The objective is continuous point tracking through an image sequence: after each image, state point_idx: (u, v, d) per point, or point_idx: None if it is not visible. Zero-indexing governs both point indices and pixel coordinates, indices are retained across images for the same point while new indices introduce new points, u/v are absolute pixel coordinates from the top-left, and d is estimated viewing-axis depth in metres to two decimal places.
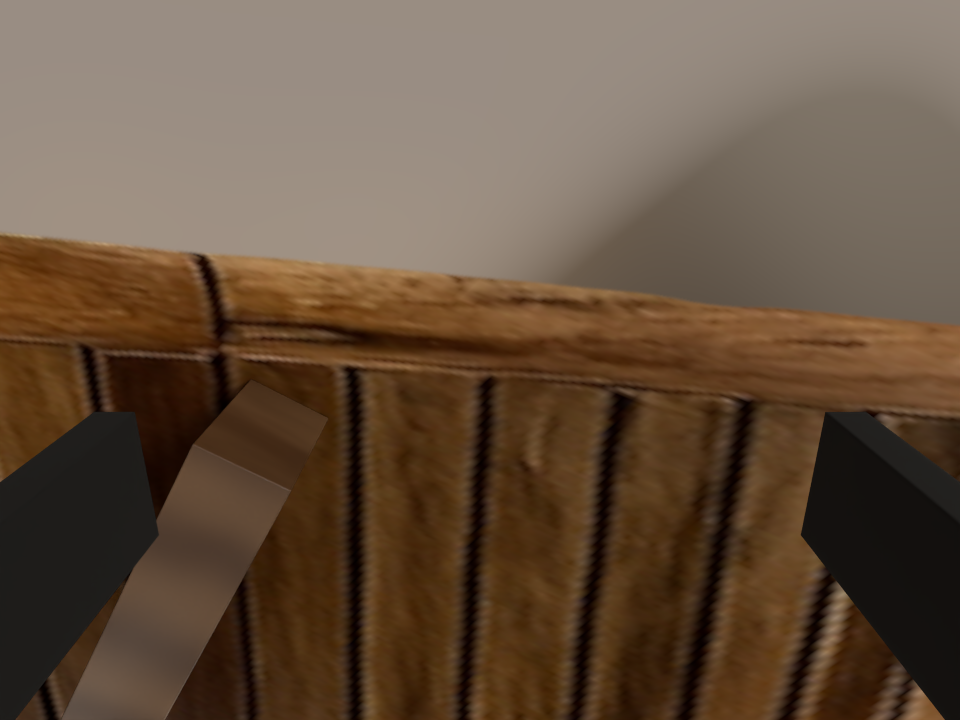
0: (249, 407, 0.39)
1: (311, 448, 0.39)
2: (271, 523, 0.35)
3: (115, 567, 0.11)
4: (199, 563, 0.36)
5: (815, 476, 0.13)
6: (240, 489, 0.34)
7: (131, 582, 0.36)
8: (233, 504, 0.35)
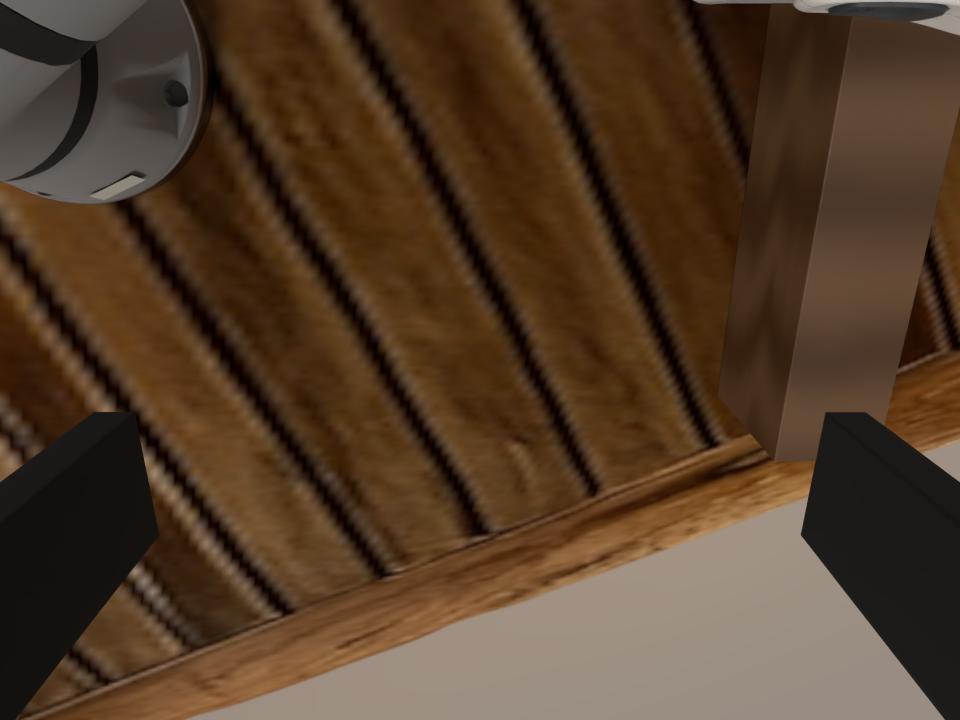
0: None
1: (742, 423, 0.40)
2: (782, 421, 0.34)
3: (115, 567, 0.11)
4: (843, 343, 0.33)
5: (815, 476, 0.13)
6: None
7: (913, 283, 0.32)
8: None
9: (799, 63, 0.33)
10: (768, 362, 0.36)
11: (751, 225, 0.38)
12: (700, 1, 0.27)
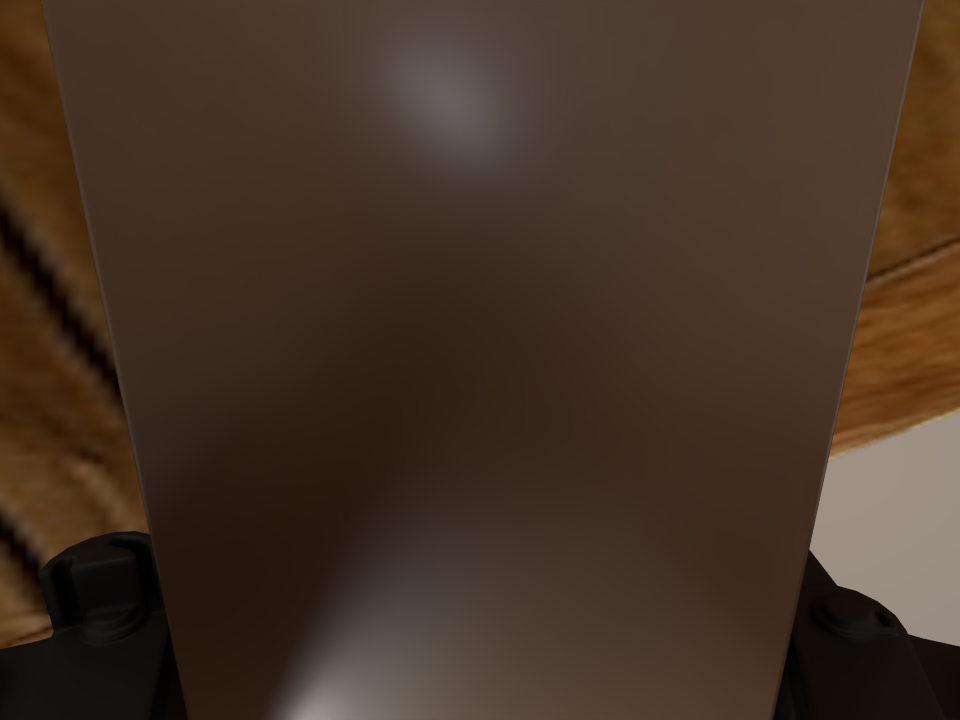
0: None
1: None
2: None
3: None
4: (443, 466, 0.05)
5: None
6: None
7: (884, 31, 0.04)
8: None
9: None
10: None
11: None
12: None
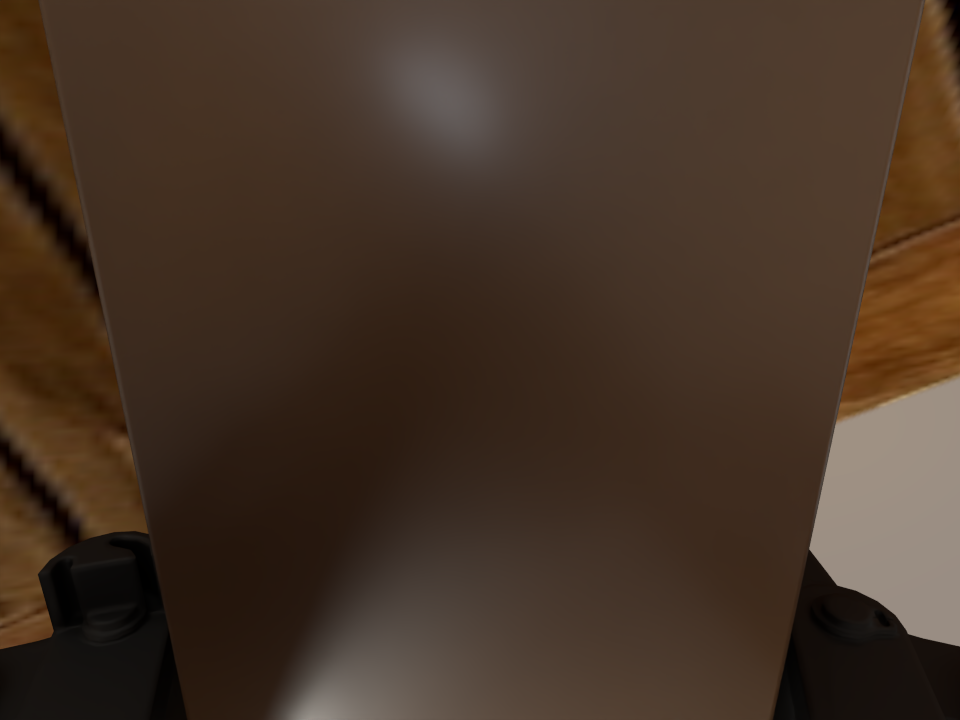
0: None
1: None
2: None
3: None
4: (442, 465, 0.05)
5: None
6: None
7: (883, 30, 0.04)
8: None
9: None
10: None
11: None
12: None
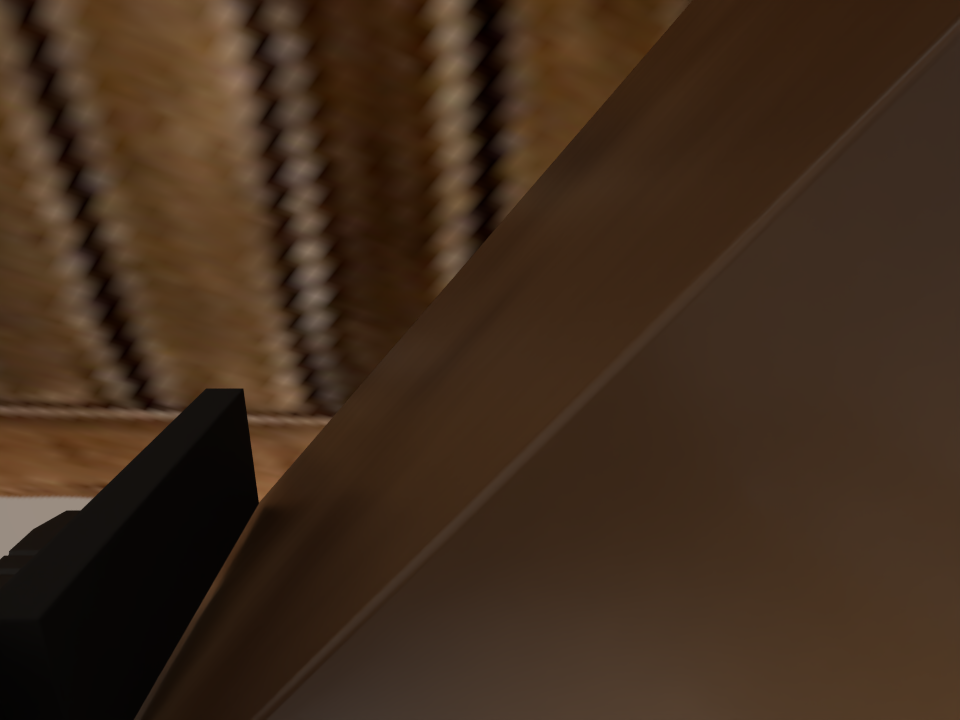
0: None
1: None
2: None
3: (231, 529, 0.13)
4: None
5: None
6: None
7: None
8: None
9: None
10: (251, 607, 0.08)
11: (592, 135, 0.10)
12: None
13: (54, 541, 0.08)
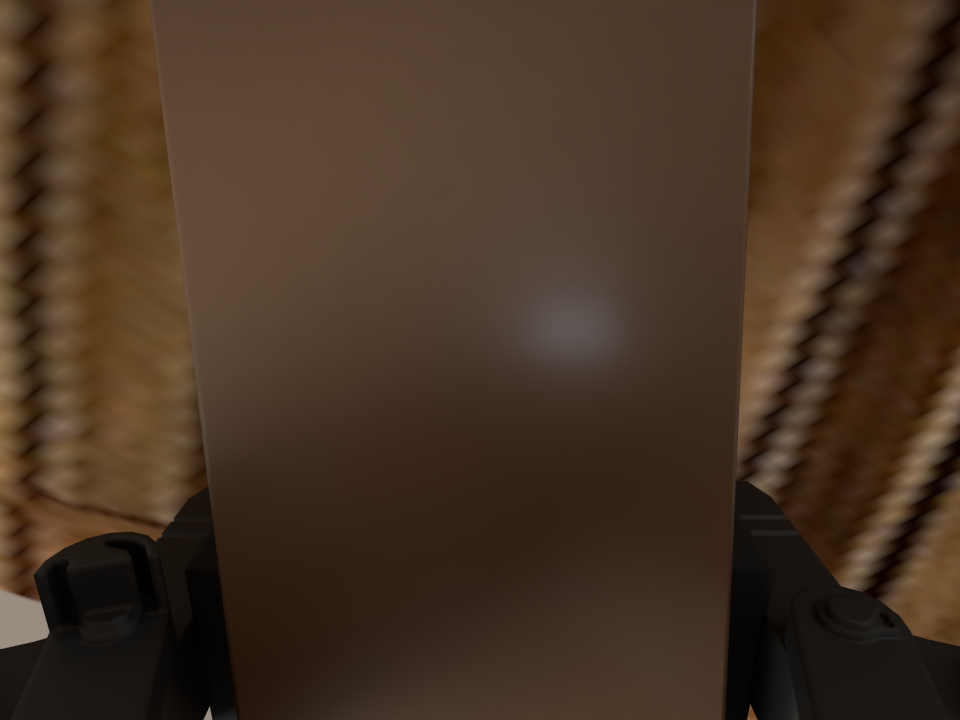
0: None
1: None
2: None
3: None
4: (446, 568, 0.07)
5: None
6: None
7: (722, 266, 0.06)
8: None
9: None
10: None
11: None
12: None
13: None
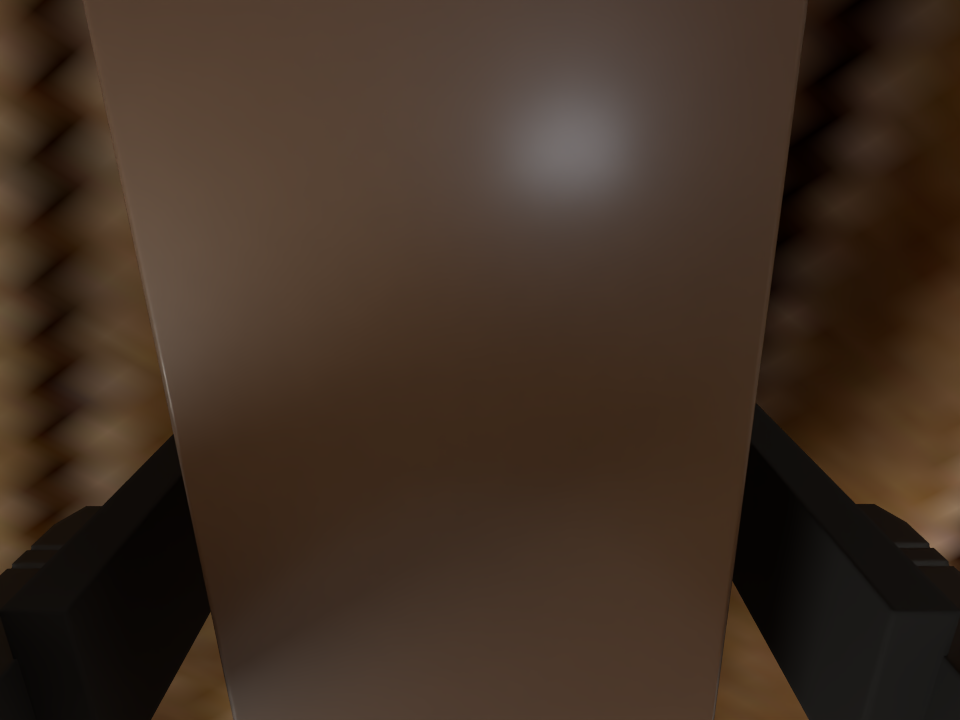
0: None
1: None
2: None
3: None
4: (442, 646, 0.07)
5: None
6: None
7: (734, 374, 0.06)
8: None
9: None
10: None
11: None
12: None
13: (77, 537, 0.08)
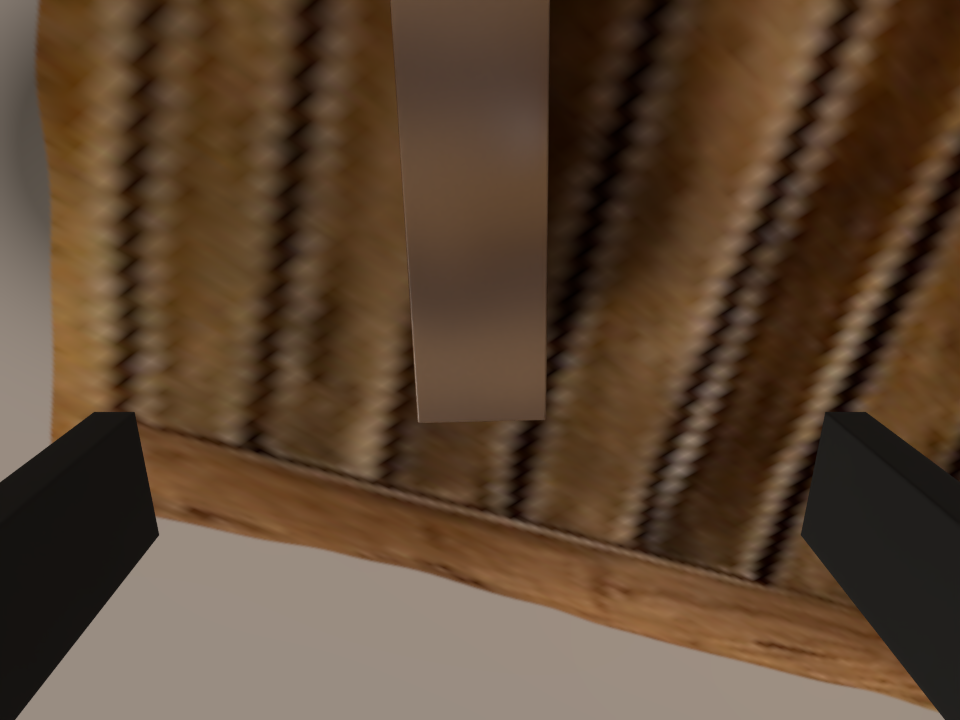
0: None
1: None
2: (416, 371, 0.27)
3: (116, 567, 0.11)
4: (469, 267, 0.26)
5: (815, 476, 0.13)
6: (471, 396, 0.28)
7: (541, 184, 0.25)
8: (469, 372, 0.27)
9: None
10: None
11: None
12: None
13: None
